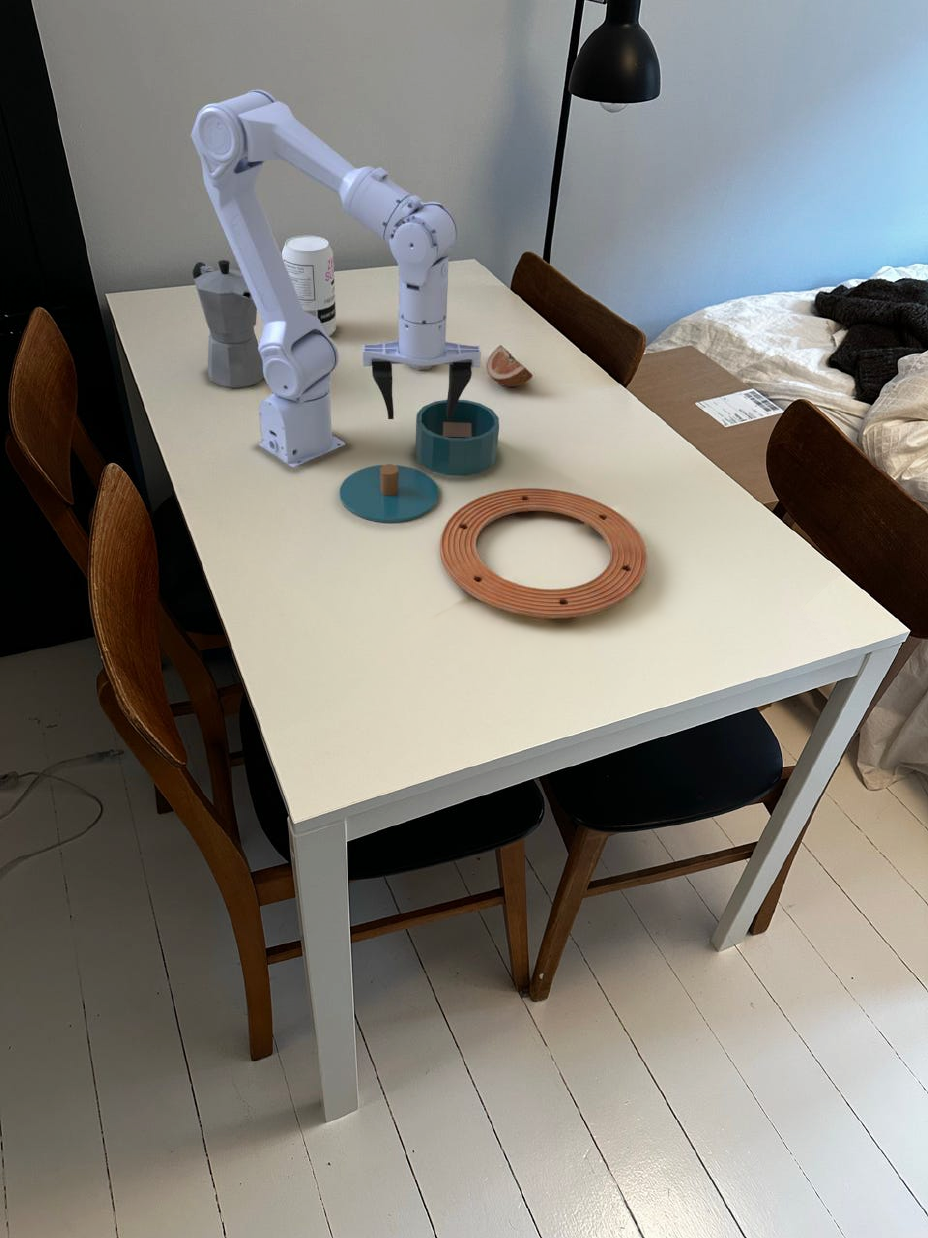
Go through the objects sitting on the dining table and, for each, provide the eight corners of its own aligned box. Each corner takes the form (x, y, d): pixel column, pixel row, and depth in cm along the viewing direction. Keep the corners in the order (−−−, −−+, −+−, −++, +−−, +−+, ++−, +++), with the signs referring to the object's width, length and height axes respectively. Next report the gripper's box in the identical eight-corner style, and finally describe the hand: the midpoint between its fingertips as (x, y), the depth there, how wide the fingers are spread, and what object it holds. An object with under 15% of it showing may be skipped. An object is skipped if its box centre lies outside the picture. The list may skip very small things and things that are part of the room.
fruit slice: (539, 392, 148) (542, 363, 145) (501, 399, 146) (504, 370, 142) (514, 369, 153) (517, 341, 150) (478, 376, 151) (480, 347, 148)
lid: (385, 539, 117) (385, 509, 114) (319, 495, 123) (318, 465, 120) (458, 500, 124) (460, 471, 121) (392, 461, 130) (392, 432, 128)
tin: (455, 488, 126) (457, 449, 122) (398, 454, 132) (399, 416, 128) (512, 459, 132) (516, 421, 129) (455, 428, 138) (457, 391, 134)
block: (441, 461, 130) (442, 436, 128) (441, 446, 133) (443, 421, 131) (470, 462, 130) (471, 437, 128) (469, 447, 134) (471, 422, 131)
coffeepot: (286, 381, 146) (277, 267, 134) (235, 399, 141) (220, 282, 129) (231, 347, 154) (217, 236, 142) (181, 363, 149) (162, 249, 137)
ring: (470, 643, 103) (472, 626, 101) (418, 513, 121) (418, 498, 120) (678, 612, 109) (682, 596, 107) (598, 492, 127) (601, 477, 125)
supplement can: (282, 325, 162) (274, 236, 152) (327, 318, 164) (323, 231, 155) (296, 344, 156) (289, 254, 146) (342, 337, 159) (339, 249, 149)
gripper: (479, 301, 116) (472, 400, 124) (361, 299, 114) (363, 400, 123) (485, 325, 110) (478, 427, 119) (362, 324, 109) (364, 427, 118)
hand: (420, 415), depth 121 cm, fingers open, 7 cm apart
